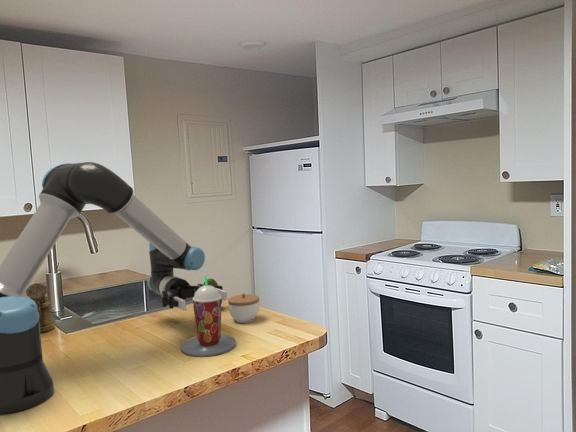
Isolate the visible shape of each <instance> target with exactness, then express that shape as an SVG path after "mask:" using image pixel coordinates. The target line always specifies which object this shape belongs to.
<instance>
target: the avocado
mask: <svg viewBox="0 0 576 432" xmlns="http://www.w3.org/2000/svg"><path fill="white" fill-rule="evenodd" d="M202 284H203V285H205V281H204V282H203V283H202ZM207 285H215V286H216V285H218V286H219V283H218V282H217V281H216V280H215V279H214V278H207ZM222 303H223V300H222V299H221V305H222Z"/></svg>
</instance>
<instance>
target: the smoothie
mask: <svg viewBox="0 0 576 432" xmlns="http://www.w3.org/2000/svg"><path fill="white" fill-rule="evenodd" d="M207 279H208V276H207V275H205V276H204V282H205V285H204V286H202V287H200V288H199V289H198V290H197V291H196V293H194V297H191V298H192V305H193V312H194V313H193V314H194V321H195V329H196V336H197V339H198V341H199V343H200V344H201V345H204V346H211V345H215V344H217V343H218V342H219V339H220V338H221V334H222V330H221V328H222V304H221V295H220V294H219V292H218V290H217V289H216V288H215V287H213V286H210V285H207Z"/></svg>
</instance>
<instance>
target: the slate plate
mask: <svg viewBox="0 0 576 432" xmlns="http://www.w3.org/2000/svg"><path fill="white" fill-rule="evenodd" d="M236 341H237V340H236V338H235V337H234V336H232V335H229V334H226V333H221V338H220V339H219V342H218V343H217V344H215V345H211V346H204V345H201V344H200V343H199V341H198V339H197V335H196V336H193V337H190V338H188V339H186V340H184V341H183V342H182V343H181V344H180V351H181V353H182V354H184V355H185V356H188V357H193V358H194V357H195V358H207V357H208V358H209V357H214V356H219V355H224V354H226V353H229V352H231V351H232V350H233V349H235V347H236V345H237V344H236V343H237V342H236Z"/></svg>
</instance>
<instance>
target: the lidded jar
mask: <svg viewBox="0 0 576 432" xmlns="http://www.w3.org/2000/svg"><path fill="white" fill-rule="evenodd" d="M227 302H228V311H229V314H230V316H231V317H232V318H233V320H235V322H236V323H239V324H246V323H251V322H253V321H254V320H255V318H256V317H257V315H258V313H259V310H260V297H259V295H256V294H249V293H248V294H246V293H243V292H242V293H241V294H236V295H233V296H231V297H229V298H227Z"/></svg>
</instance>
